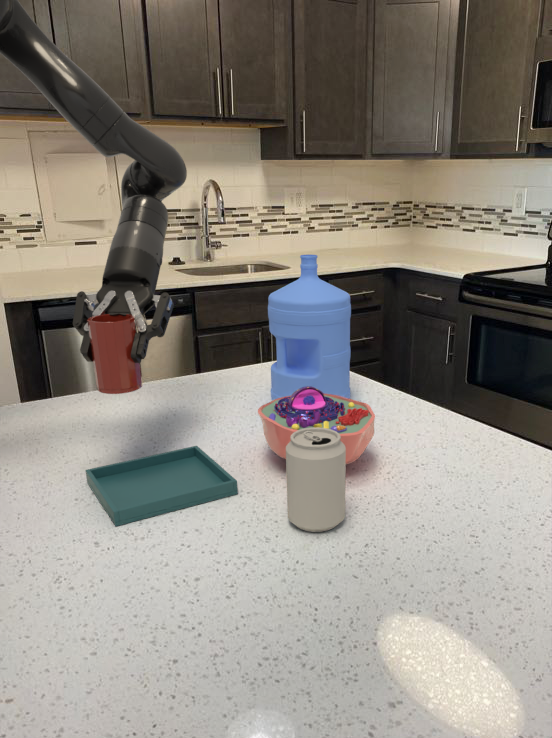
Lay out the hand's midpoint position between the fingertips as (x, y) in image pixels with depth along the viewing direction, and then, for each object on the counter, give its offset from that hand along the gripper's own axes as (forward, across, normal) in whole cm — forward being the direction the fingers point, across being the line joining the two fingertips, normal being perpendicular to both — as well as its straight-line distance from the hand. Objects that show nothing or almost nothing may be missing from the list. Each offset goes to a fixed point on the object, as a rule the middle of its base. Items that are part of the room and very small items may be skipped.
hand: (111, 359), depth 91 cm
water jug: (-14, +22, +41) cm, 48 cm away
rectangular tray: (+15, +6, +12) cm, 19 cm away
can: (+20, +29, +7) cm, 36 cm away
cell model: (+6, +27, +20) cm, 34 cm away
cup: (+2, 0, +4) cm, 5 cm away
